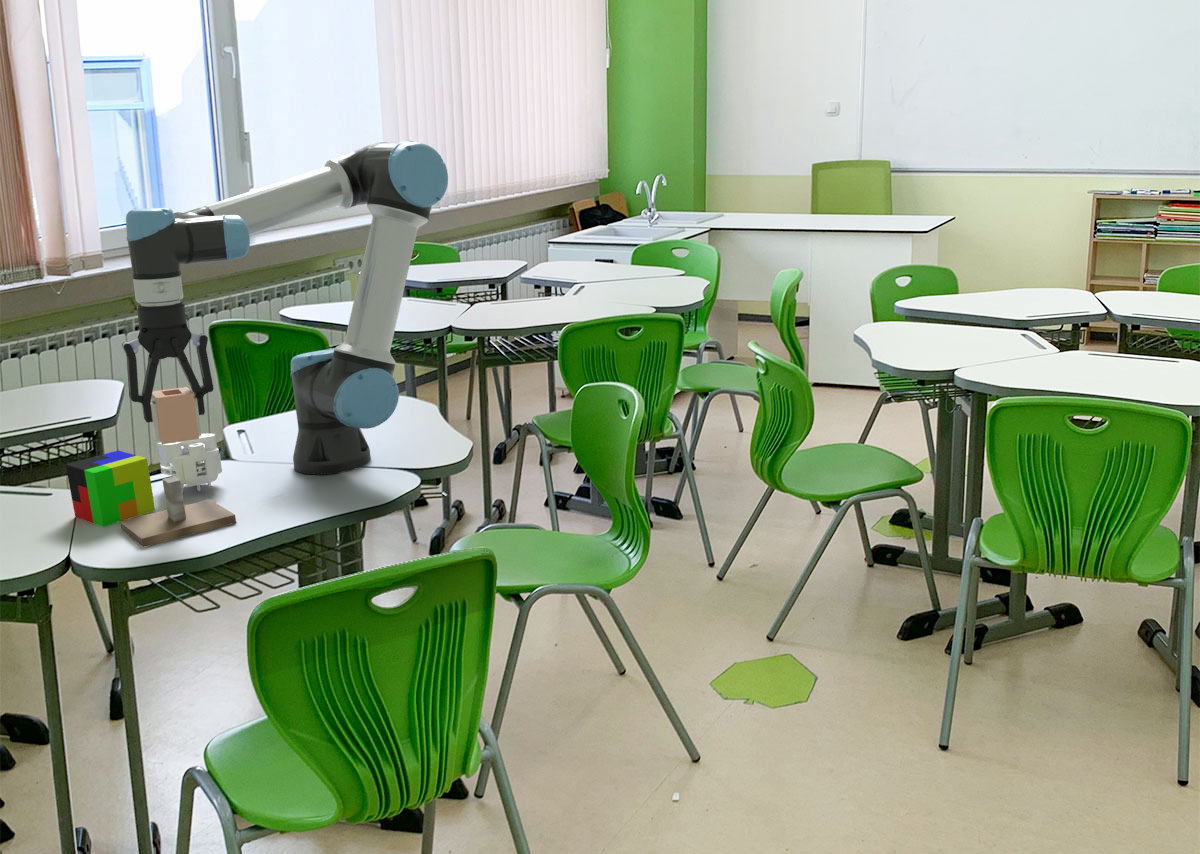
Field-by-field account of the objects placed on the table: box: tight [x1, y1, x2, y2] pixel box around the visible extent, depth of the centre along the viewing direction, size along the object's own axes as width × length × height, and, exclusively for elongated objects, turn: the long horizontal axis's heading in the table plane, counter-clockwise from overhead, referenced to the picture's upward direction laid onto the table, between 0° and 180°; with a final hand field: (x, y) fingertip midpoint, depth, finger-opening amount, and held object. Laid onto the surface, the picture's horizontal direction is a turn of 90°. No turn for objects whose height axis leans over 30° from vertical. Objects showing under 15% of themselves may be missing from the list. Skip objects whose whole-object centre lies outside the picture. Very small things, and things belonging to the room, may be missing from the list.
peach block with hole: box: [151, 386, 199, 444], centre depth 200 cm, size 6×6×8 cm
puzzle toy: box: [65, 449, 156, 528], centre depth 211 cm, size 10×10×10 cm
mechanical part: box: [156, 433, 223, 493], centre depth 223 cm, size 11×12×12 cm
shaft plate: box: [119, 476, 237, 548], centre depth 202 cm, size 16×12×8 cm
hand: (177, 436), depth 200 cm, fingers closed on peach block with hole, 6 cm apart
